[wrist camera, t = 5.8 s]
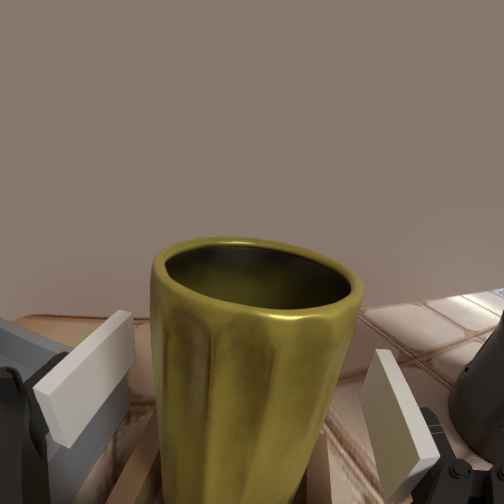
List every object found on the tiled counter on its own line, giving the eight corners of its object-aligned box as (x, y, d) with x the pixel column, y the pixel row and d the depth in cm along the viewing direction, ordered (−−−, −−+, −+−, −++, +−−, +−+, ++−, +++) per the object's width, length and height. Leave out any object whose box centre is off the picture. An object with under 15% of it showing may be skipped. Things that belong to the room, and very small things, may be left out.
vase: (148, 541, 9) (76, 281, 5) (185, 463, 15) (189, 223, 11) (270, 571, 8) (417, 349, 4) (286, 485, 14) (362, 252, 10)
